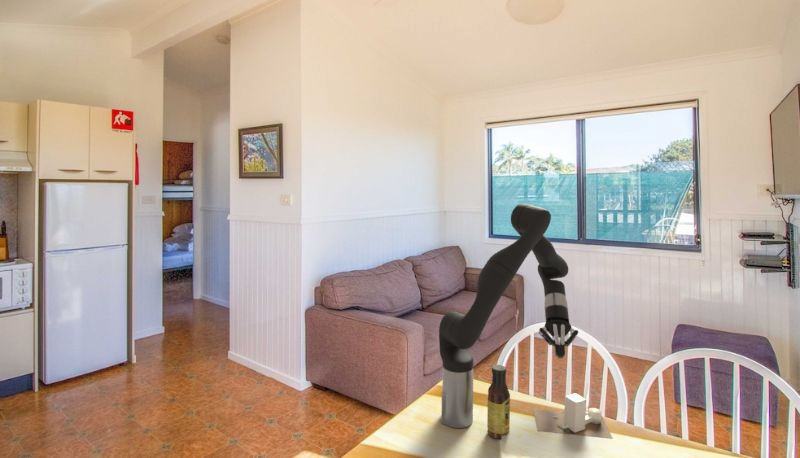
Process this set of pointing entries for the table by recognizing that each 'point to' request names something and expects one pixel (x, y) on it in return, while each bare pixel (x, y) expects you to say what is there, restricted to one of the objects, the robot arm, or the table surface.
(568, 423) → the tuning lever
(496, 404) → the sauce bottle
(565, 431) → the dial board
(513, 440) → the table surface
